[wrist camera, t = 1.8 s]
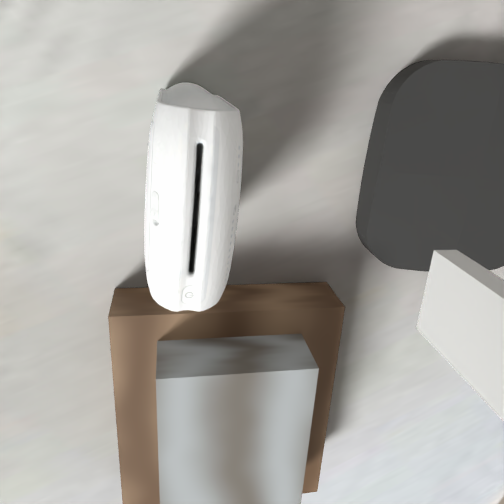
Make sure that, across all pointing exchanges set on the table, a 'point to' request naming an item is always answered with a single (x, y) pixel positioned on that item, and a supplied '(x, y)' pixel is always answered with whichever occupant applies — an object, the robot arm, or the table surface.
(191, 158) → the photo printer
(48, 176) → the table surface
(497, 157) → the media streaming box
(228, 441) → the grey block on wood
